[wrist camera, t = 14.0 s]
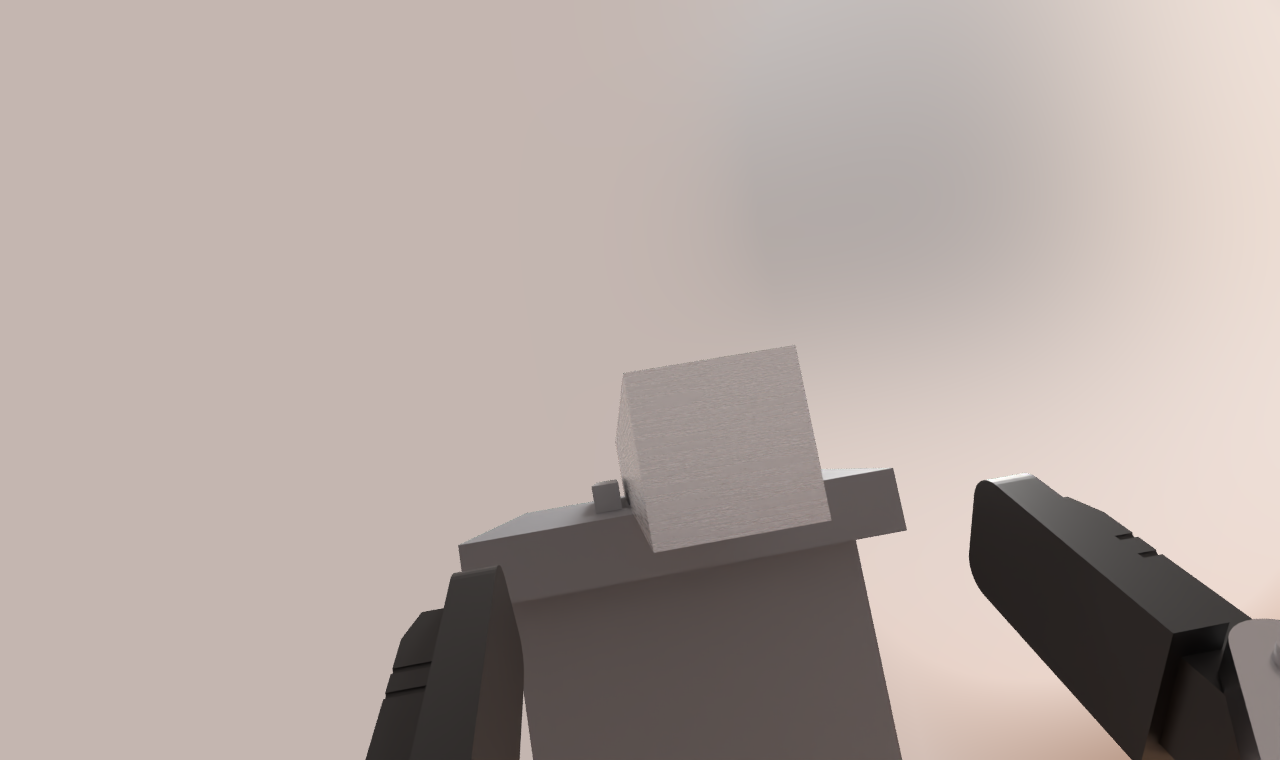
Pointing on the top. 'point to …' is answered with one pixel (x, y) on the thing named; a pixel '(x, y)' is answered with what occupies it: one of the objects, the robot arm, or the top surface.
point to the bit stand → (699, 633)
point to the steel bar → (719, 449)
